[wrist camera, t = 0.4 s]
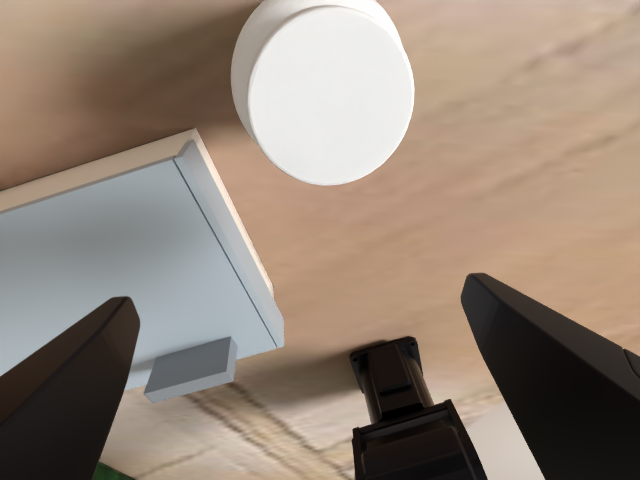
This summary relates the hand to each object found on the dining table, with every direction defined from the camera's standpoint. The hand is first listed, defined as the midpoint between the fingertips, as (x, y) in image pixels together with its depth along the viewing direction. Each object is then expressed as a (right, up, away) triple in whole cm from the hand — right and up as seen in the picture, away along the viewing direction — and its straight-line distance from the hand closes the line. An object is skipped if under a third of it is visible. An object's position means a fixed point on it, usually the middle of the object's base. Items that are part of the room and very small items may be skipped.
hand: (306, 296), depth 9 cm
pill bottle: (0, +11, +9) cm, 15 cm away
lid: (-12, -1, +12) cm, 17 cm away
